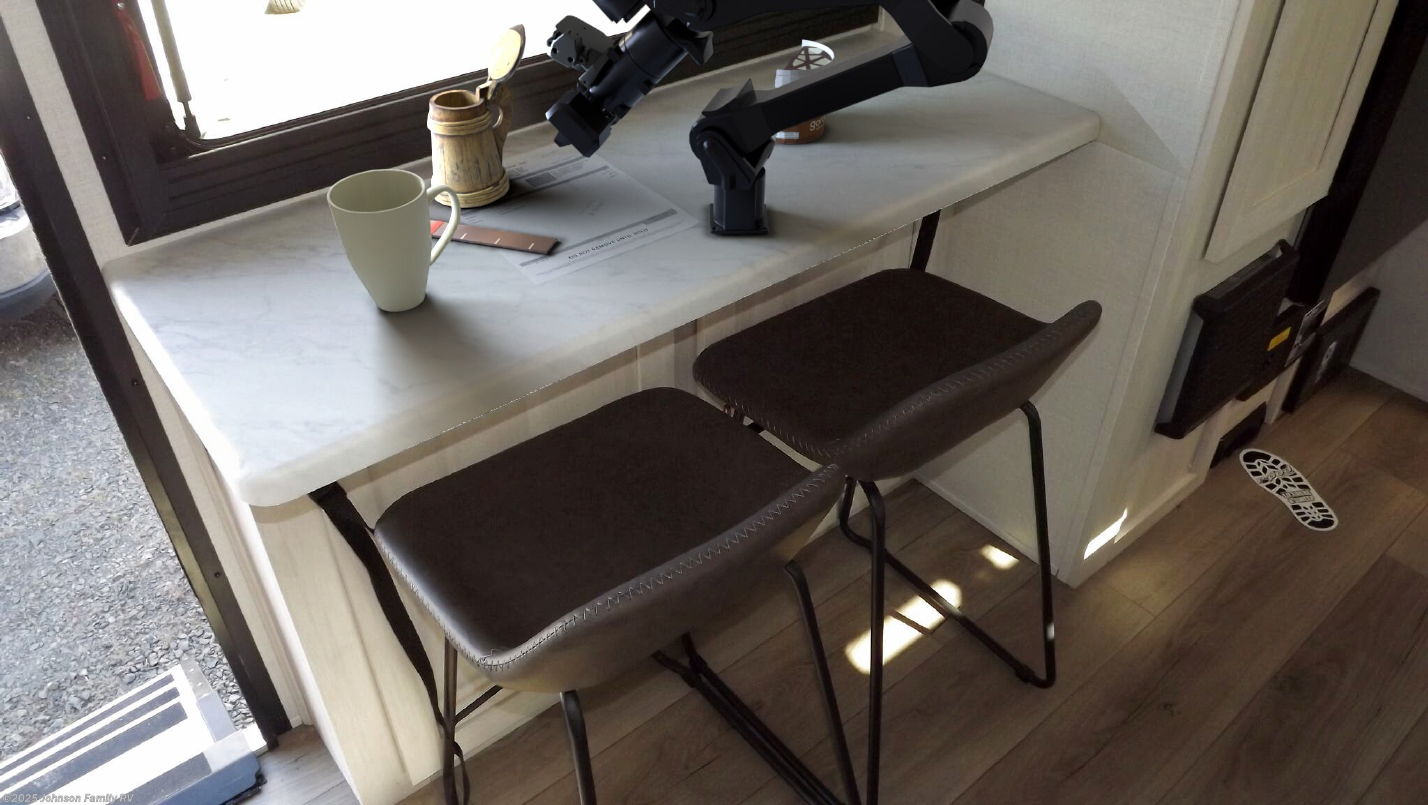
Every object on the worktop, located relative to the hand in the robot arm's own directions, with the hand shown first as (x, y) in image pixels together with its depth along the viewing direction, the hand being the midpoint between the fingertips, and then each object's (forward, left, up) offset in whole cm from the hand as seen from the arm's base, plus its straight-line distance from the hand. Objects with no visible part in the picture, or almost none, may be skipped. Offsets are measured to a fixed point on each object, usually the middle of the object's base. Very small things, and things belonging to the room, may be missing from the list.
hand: (557, 142), depth 117 cm
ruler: (-9, +10, -7) cm, 15 cm away
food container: (+18, -31, -7) cm, 36 cm away
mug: (-21, +13, -7) cm, 26 cm away
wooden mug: (+3, +9, -7) cm, 12 cm away
